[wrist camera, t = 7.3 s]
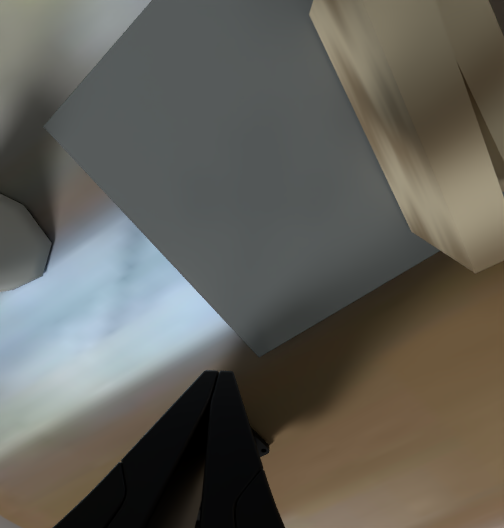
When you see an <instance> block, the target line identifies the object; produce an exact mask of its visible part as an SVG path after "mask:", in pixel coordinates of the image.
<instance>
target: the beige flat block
mask: <svg viewBox="0 0 504 528" xmlns="http://www.w3.org/2000/svg"><path fill="white" fill-rule="evenodd" d="M309 15H310V18H311V20H312V22H313V24H314V26H315V28H316V30H317V32H318V35H319V37H320V39H321V41H322V43H323V45H324V47H325V49H326V52H327V54H328V56H329V58H330V60H331V62H332V64H333V66H334V69H335V71H336V73H337V75H338V77H339V79H340V81H341V83H342V85H343V88H344V90H345V92H346V94H347V96H348V98H349V100H350V102H351V105H352V107H353V109H354V111H355V113H356V115H357V117H358V119H359V122H360V124H361V126H362V128H363V130H364V132H365V134H366V136H367V139H368V141H369V143H370V145H371V147H372V149H373V151H374V153H375V155H376V158H377V160H378V162H379V164H380V166H381V168H382V170H383V172H384V175H385V177H386V179H387V181H388V183H389V185H390V187H391V189H392V192H393V194H394V196H395V198H396V200H397V202H398V204H399V206H400V209H401V211H402V213H403V215H404V217H405V219H406V221H407V223H408V225H409V228H410V230H411V232H413V233H414V234H416V235H417V236H419V237H420V238H422V239H423V240H425V241H426V242H428V243H429V244H431V245H433V246H434V247H436V248H437V249H439V250H440V251H442V252H443V253H445V254H446V255H448V256H449V257H451V258H452V259H454V260H456V261H457V262H459V263H460V264H462V265H463V266H465V267H466V268H468V269H469V270H471V271H472V272H474V273H475V274H476V273H478V272H480V271H482V270H484V269H486V268H489V267H491V266H493V265H495V264H497V263H499V262H502V261H504V197H503V194H502V191H501V188H500V185H499V182H498V179H497V176H496V173H495V170H494V168H493V165H492V162H491V159H490V156H489V153H488V150H487V147H486V144H485V142H484V139H483V136H482V133H481V130H480V127H479V124H478V121H477V118H476V115H475V113H474V110H473V107H472V104H471V101H470V98H469V95H468V92H467V89H466V87H465V84H464V81H463V78H462V75H461V72H460V69H459V66H458V63H457V60H456V58H455V55H454V52H453V49H452V46H451V43H450V40H449V37H448V34H447V32H446V29H445V26H444V23H443V20H442V17H441V14H440V11H439V8H438V6H437V3H436V0H313V3H312V6H311V9H310V13H309Z"/></svg>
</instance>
